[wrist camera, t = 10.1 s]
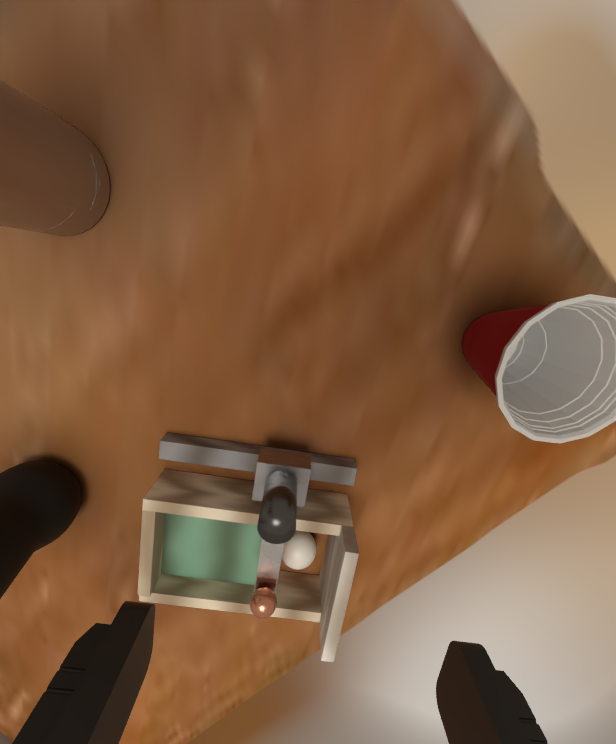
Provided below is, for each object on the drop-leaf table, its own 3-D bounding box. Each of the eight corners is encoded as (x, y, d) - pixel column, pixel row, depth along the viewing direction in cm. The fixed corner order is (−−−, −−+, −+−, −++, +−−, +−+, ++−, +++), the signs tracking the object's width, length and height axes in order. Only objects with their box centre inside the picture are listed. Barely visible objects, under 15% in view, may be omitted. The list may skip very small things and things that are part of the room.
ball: (316, 556, 42) (283, 546, 43) (322, 527, 41) (288, 516, 42) (308, 583, 38) (272, 571, 39) (314, 551, 37) (277, 539, 38)
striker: (245, 555, 40) (229, 634, 31) (260, 447, 37) (247, 501, 28) (291, 561, 40) (287, 641, 31) (310, 454, 37) (312, 509, 28)
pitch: (157, 563, 43) (120, 637, 34) (167, 432, 38) (127, 478, 30) (327, 584, 44) (333, 661, 35) (354, 459, 40) (368, 511, 31)
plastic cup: (457, 411, 38) (524, 471, 27) (420, 317, 36) (477, 338, 24) (558, 368, 37) (674, 411, 26) (528, 268, 35) (641, 264, 23)
